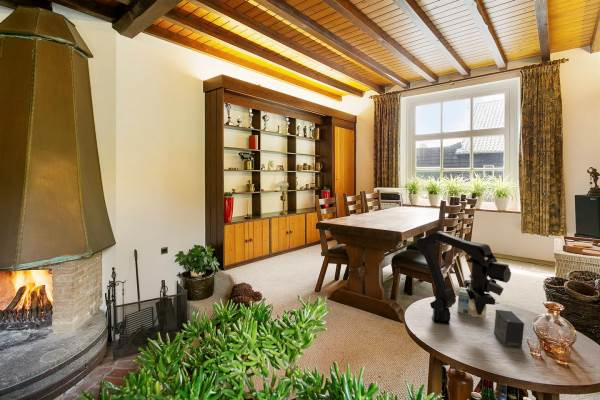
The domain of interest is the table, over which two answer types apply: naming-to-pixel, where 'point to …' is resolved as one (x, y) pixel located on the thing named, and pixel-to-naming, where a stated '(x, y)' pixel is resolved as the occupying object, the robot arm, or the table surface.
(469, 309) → the birch cube
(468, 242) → the robot arm
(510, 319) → the small box
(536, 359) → the table surface
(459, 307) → the light bulb box
